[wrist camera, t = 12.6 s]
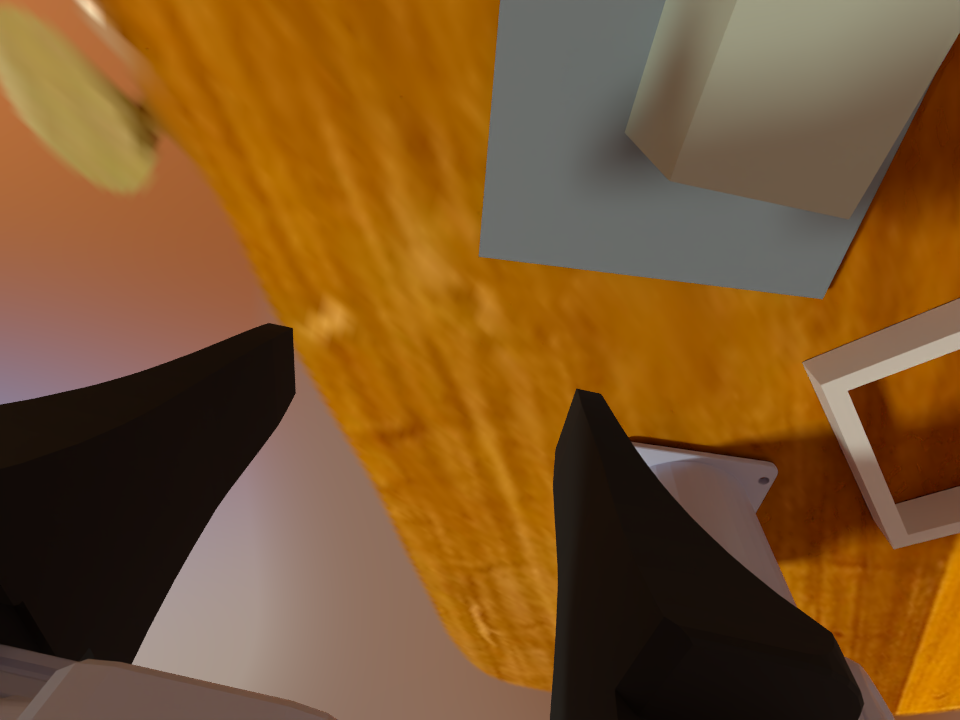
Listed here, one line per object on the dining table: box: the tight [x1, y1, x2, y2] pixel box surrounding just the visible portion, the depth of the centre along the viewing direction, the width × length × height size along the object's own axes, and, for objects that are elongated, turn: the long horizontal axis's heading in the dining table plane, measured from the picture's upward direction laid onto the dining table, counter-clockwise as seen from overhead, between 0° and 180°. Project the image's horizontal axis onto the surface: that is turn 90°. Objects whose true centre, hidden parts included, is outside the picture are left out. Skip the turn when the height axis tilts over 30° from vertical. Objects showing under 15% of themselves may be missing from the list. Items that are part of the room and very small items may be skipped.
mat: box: [479, 0, 936, 299], centre depth 17 cm, size 14×14×1 cm
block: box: [625, 0, 960, 219], centre depth 13 cm, size 4×4×8 cm
